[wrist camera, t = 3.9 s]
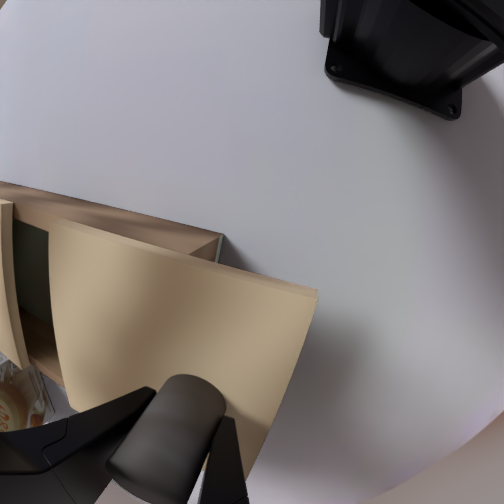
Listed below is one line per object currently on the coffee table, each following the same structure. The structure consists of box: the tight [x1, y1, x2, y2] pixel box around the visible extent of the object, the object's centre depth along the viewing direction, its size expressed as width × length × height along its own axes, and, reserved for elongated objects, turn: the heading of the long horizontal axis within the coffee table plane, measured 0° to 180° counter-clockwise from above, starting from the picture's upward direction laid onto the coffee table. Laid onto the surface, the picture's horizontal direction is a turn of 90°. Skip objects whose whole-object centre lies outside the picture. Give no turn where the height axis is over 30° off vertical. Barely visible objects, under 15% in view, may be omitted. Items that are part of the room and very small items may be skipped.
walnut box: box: [0, 181, 224, 388], centre depth 13 cm, size 20×10×4 cm, turn 77°
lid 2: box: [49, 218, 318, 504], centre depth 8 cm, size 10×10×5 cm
